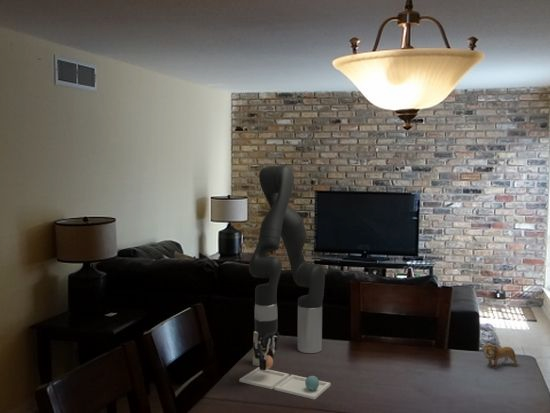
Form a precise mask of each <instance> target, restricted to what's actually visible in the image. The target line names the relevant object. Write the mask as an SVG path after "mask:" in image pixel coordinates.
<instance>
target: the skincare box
mask: <svg viewBox="0 0 550 413" xmlns="http://www.w3.org/2000/svg"><path fill="white" fill-rule="evenodd" d="M252 340H253V342H255V343H256V342H257V341H258V333H257V332H256V331H255V330H254V331H253V338H252ZM262 349H266V348H262ZM263 355H264V352H263ZM252 365H253V366H257V367H259V359H256V358H255V354H254V349H253V348H252Z"/></svg>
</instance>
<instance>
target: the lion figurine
mask: <svg viewBox="0 0 550 413" xmlns="http://www.w3.org/2000/svg"><path fill="white" fill-rule="evenodd" d="M482 350H483V354H484V357H485V358H486V359H487V360H488V363H487V367H491V366H492V360H493V363H494V364H493V367H492V368H493V369H494V368H495V369H494V370H497V368H498V360H499V359H504V361H502V362H501V363H502V365H505V364H506V363H507V362H508V361H509V360H508V358H509V359H510V360H511V361H513V362H514V363H513V364H512V366H513V367H517V366H518V362H517V359H516V353H515V350H514V348H512V347H510V346H504V347H500V348H499V347H497V346H496V345H494V344H493V343H489V342H488V343H485V345H483V349H482Z"/></svg>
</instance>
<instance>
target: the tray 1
mask: <svg viewBox="0 0 550 413" xmlns="http://www.w3.org/2000/svg"><path fill="white" fill-rule="evenodd" d="M289 376H290V374H289V373H286V372H283V371H282V372H281V371H277V370H272V369H270V368H268V369H266V370H265V371H264V370H260V368H259V366H257V367H256V368H255V369H254V370H252V371H249V373H246V374H245V375H244V376H242V377H240V378H239V381H238V382H239V383H244V384H247V385H252V386H256V387H260V388H265V389H269V390H272V389H273V390H274V387H275V386H277V385H278V384H280V383H281V382H282V381H284V380H285V379H286V378H288V377H289Z"/></svg>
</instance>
